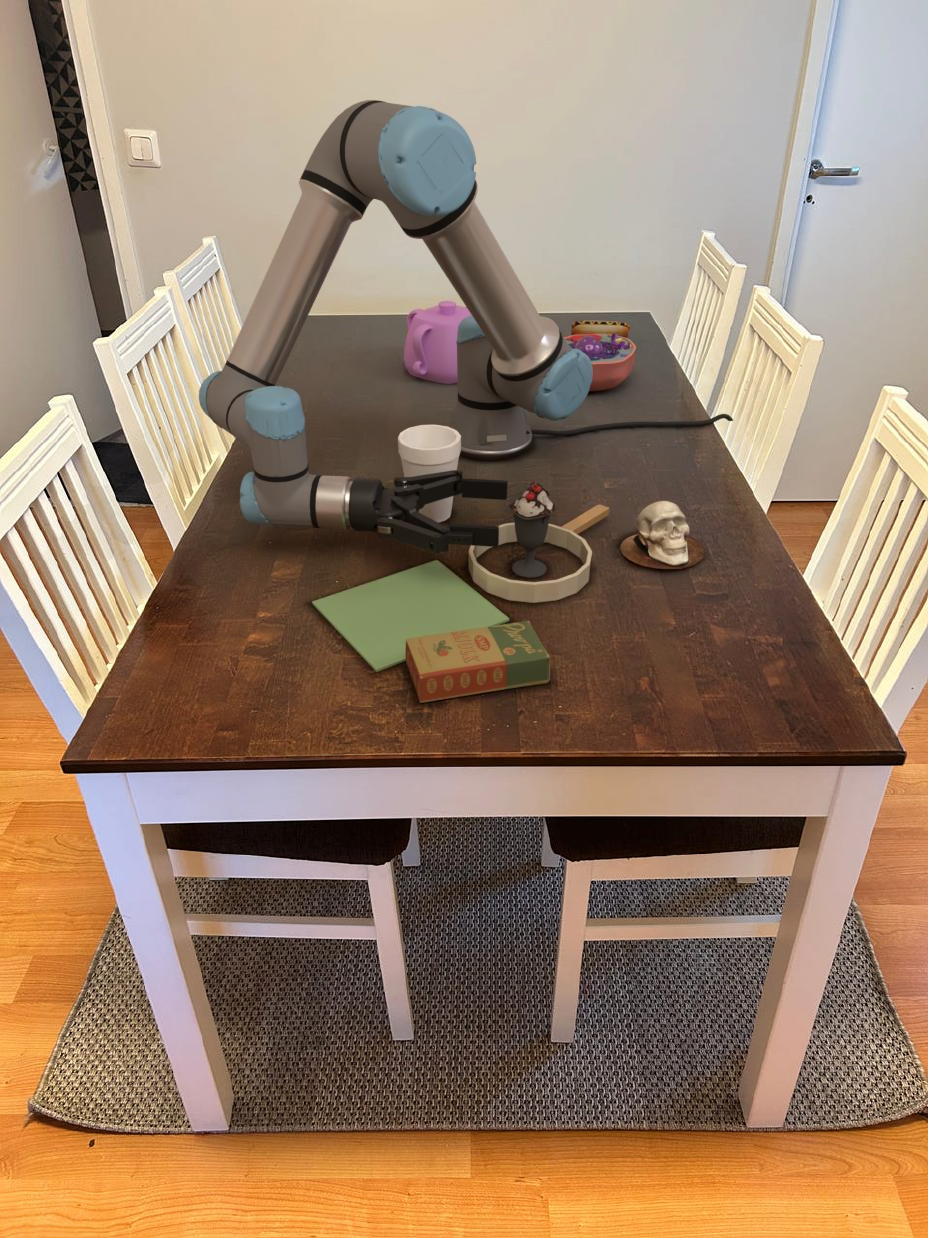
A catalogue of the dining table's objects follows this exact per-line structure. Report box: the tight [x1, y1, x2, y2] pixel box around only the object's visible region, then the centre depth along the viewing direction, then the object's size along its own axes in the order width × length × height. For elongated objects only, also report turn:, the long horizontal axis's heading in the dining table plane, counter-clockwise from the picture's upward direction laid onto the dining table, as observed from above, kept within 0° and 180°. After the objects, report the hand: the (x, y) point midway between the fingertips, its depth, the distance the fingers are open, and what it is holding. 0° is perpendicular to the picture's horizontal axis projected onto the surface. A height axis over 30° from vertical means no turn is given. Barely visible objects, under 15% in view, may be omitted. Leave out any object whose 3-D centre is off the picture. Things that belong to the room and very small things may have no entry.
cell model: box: [563, 334, 637, 392], centre depth 189 cm, size 17×20×11 cm
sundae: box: [507, 479, 558, 579], centre depth 129 cm, size 7×7×15 cm
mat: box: [311, 559, 510, 673], centre depth 124 cm, size 20×18×1 cm
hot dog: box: [570, 319, 631, 338], centre depth 214 cm, size 5×13×5 cm, turn 84°
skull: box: [619, 500, 705, 570], centre depth 136 cm, size 12×10×10 cm
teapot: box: [403, 300, 471, 385], centre depth 197 cm, size 19×21×14 cm
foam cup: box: [397, 424, 461, 523], centre depth 143 cm, size 10×9×13 cm
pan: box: [468, 503, 610, 604], centre depth 134 cm, size 26×17×3 cm, turn 123°
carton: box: [405, 620, 551, 704], centre depth 112 cm, size 8×16×4 cm, turn 105°
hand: (503, 512), depth 128 cm, fingers open, 13 cm apart
